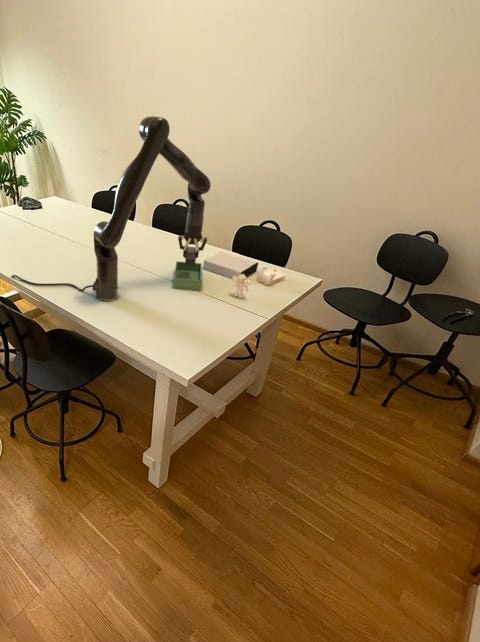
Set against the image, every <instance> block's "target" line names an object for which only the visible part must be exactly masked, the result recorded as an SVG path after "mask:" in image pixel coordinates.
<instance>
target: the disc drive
mask: <svg viewBox="0 0 480 642" xmlns="http://www.w3.org/2000/svg"><path fill="white" fill-rule="evenodd" d="M258 266H259V262H258V261H257V262H255V261H252V260H249V259H246V258H243V257H241V256H240V257H239V256H236V255H233V254H231V253H227V252H224V251H220V252H218V253H215V254H213V255H212V256H209V257H208V258H205V259H204V260H203V264H202V269H204V270H207V271H210V272H213V273H215V274H219V275H222V276H224V277H228V278H230V279H232V278H233V276H235V275H236V276H237V278H238V276H240V275H241V274H244V275H245V277H246V279H247V278H248V277H250V276H252V275H254V273H256V272H257V270H258ZM237 272H239V273H241V274H240V275H238V274H237Z"/></svg>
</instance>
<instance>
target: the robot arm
mask: <svg viewBox="0 0 480 642" xmlns="http://www.w3.org/2000/svg"><path fill="white" fill-rule="evenodd" d="M170 129H171V127H170V122H169V121H168V120H167V119H166V118H165V117H162V116H153V115H152V116H151V115H149V116H145V117H144V118H143V119H142V120H141V121H140V123H139V126H138V134H139V137H140V139H141V140H142V141H143V143H142V146H141V148H140V150H139V152H138V154H137V155H136V156H135V158H134V159H133V160H132V161H131V162H130V163H129V164H128V166H126V168H125V170H124V171H123V173H122V174H121V177H120V179H119V181H118V183H117V187H116V190H115V196H114V206H113V211H112V213H111V216H110V218H109V221H105V220H103V221H100V222H98V223H97V224H96V225H95V227H94V230H93V248H94V249H93V250H94V255H95V259H96V260H95V261H96V278H95V280H94V282H93V284H91V285H86V286H84V287H82V288H79V287H77V285H75V284H72V283H68V282H66V283H65V282H64V283H63V282H62V283H59V282H58V283H38V282H32V281H29V280H26V279H24V278H21V276H19V275H16V274H13V275H12V276H11V278H17V279H18V280H20V281H22V282H25V283H27V284H30V285H35V286H71V287H73V288H74V289H76V290H78V291H80V292H84V291H85V290H86V289H88V288H92V291H93V292H95V294H96V295H95V296H96V297H95V298H96V299H99V300H101V301H104V302H110V301H114V300H116V299H117V298H118V296H119V295H118V293H119V291H118V289H119V286H118V285H119V283H118V280H119V279H118V277H119V274H118V273H119V272H118V271H119V270H118V269H119V255H118V253H117V251H116V247H117V246H118V245H119V243H120V242H121V240H122V237H123V234H124V232H125V229H126V226H127V223H128V220H129V218H130V216H131V213H132V212H133V209H134V207H135V205H136V202H137V200H138V199H139V196H140V194H141V192H142V190H143V188H144V185H145V183H146V181H147V178H148V177H149V174H150V173H151V170H152V168H153V166H154V164H155V162H156V160H157V158H158V157H159V155H160V156H161V157H162V158H163V159H164V160H166V162H167V163H168V164H169V165H170V166H171V167H172V169H173V170H174V171H175V172H176V173H177V174H178V175H179V176H180V177H181V178H182V179H183V180H184V181H185V182H187V196H188V208H187V209H188V210H187V215H186V220H185V221H186V222H185V230H184V234H183V235H178V237H177V239H178V245H179V249H180V250H182V251H183V252H182V257H183V258H184V259H185V258H186V250H187V247H189V245H193V246H195V247H196V260H197V259H198V258H199V254H200V252H201V251H202V252H203V250H204V248H205V246H206V244H207V242H208V237H207V236H205V237H204V236H203V235H202V233H203V226H204V225H203V224H204V218H205V217H204V215H205V206H206V201H205V199H204V198H203V197H202V195H205V194H208V193H209V191H210V189H211V187H212V186H211V185H212V184H211V180H210V178H209V177H208V176H207V175H206V174H205V173H204V172H203V171H202V170H201V169H199V168H198V167H197V166H196V165H195V163H194V161H192V160H191V158H190V157H189V156H188V155H187V154H186V153H185V152H184V151H183V150H182V149H181V148H179V147H178V146H176V145H175V143H173V142H172V141H171V140H170V139H169V137H170V131H171V130H170ZM183 240H185V244H184V245H183ZM200 241H201V242H202V243H201V245H200V247H199V242H200Z"/></svg>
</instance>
